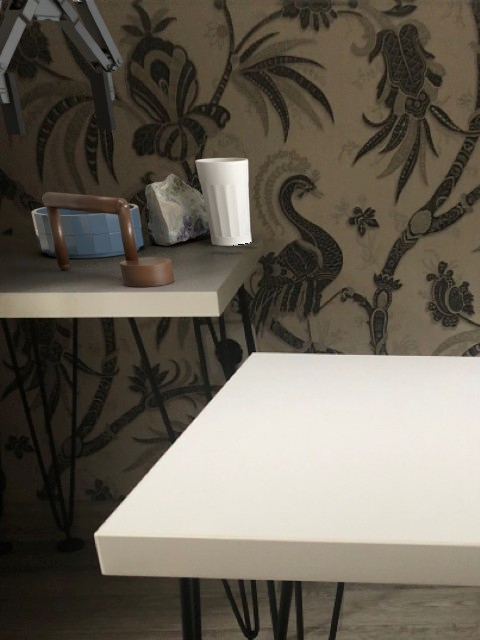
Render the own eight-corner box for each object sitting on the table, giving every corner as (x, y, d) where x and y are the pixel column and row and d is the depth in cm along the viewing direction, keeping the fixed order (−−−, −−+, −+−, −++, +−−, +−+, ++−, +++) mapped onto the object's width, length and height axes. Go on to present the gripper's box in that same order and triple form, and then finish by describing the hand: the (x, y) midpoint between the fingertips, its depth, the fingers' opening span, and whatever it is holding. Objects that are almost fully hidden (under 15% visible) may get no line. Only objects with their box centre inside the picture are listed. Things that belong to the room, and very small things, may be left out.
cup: (267, 240, 148) (258, 158, 142) (233, 248, 142) (223, 162, 136) (230, 237, 152) (220, 157, 146) (195, 244, 146) (184, 161, 140)
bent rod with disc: (184, 280, 120) (172, 198, 115) (146, 289, 116) (132, 203, 111) (79, 265, 130) (64, 189, 125) (40, 273, 125) (23, 194, 120)
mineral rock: (215, 233, 156) (207, 168, 151) (236, 241, 148) (228, 173, 143) (139, 239, 150) (128, 172, 145) (157, 248, 142) (145, 178, 137)
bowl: (33, 261, 134) (23, 217, 131) (49, 245, 146) (40, 204, 143) (141, 256, 136) (133, 213, 133) (147, 240, 149) (141, 201, 146)
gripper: (-57, -92, 95) (-7, 138, 105) (133, -65, 113) (159, 128, 123) (-98, -86, 98) (-46, 135, 109) (93, -61, 116) (122, 127, 127)
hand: (64, 132), depth 116 cm, fingers open, 13 cm apart
